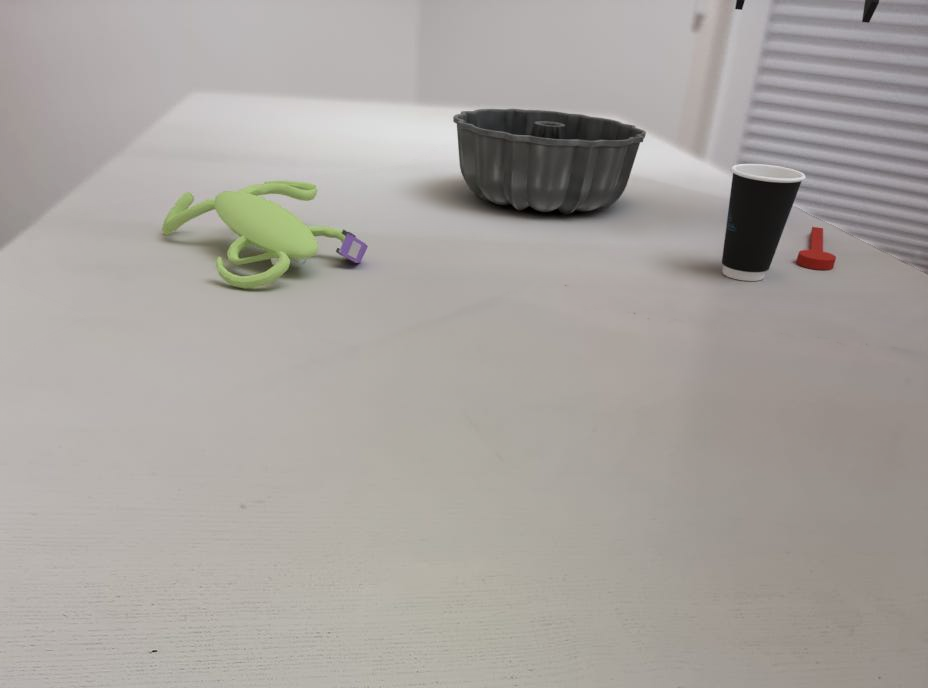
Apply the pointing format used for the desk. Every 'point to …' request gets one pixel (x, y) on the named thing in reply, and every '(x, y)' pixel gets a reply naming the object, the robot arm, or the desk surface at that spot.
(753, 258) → the dixie cup
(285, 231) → the figurine
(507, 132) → the bundt pan
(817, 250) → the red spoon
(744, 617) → the desk surface
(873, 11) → the robot arm
